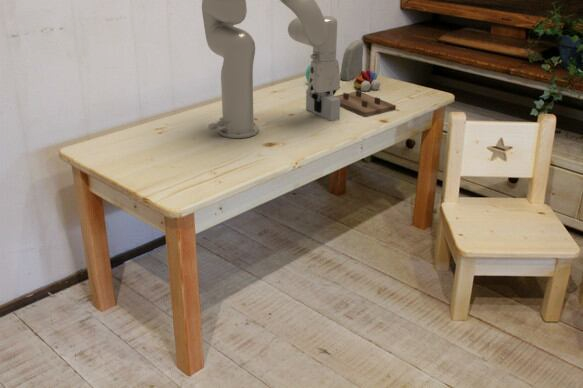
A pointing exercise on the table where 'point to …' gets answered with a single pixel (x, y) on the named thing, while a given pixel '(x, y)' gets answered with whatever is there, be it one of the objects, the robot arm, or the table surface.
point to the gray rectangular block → (325, 106)
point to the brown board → (364, 104)
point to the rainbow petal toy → (367, 81)
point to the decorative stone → (352, 61)
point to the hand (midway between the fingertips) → (322, 110)
